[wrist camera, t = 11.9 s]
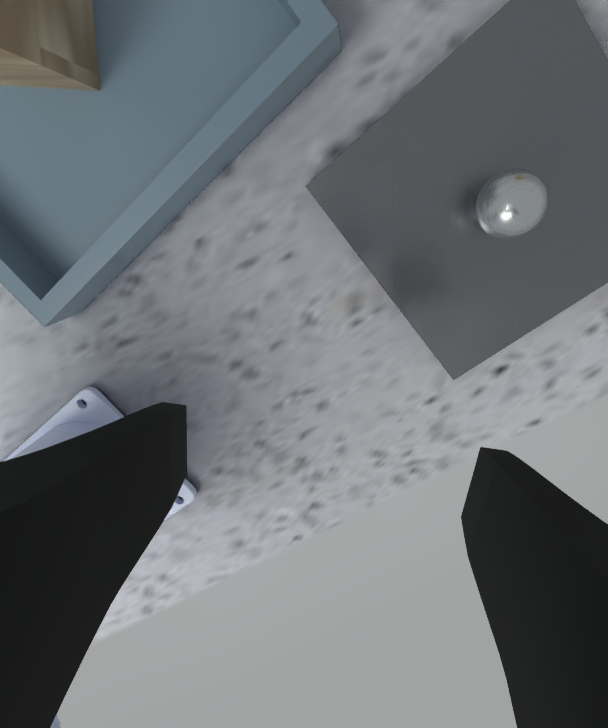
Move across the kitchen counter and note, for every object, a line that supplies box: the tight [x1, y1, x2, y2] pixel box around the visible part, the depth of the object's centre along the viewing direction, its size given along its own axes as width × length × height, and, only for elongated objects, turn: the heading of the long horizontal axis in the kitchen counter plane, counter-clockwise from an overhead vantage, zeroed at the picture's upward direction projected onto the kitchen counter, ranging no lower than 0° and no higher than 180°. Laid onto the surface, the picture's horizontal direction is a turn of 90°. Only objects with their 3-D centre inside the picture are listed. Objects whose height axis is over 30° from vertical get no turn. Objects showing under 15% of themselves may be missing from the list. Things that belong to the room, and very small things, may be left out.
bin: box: [0, 0, 341, 327], centre depth 15 cm, size 16×16×2 cm
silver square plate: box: [306, 0, 608, 380], centre depth 15 cm, size 10×10×4 cm
